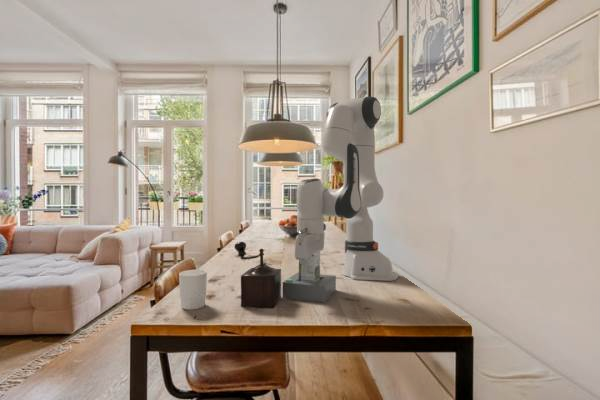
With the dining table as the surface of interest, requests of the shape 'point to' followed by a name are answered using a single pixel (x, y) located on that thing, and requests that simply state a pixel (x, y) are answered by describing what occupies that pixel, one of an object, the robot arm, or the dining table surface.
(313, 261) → the syrup box
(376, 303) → the dining table surface
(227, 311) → the dining table surface
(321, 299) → the port block
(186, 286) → the white cup
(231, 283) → the dining table surface
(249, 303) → the manual coffee grinder
